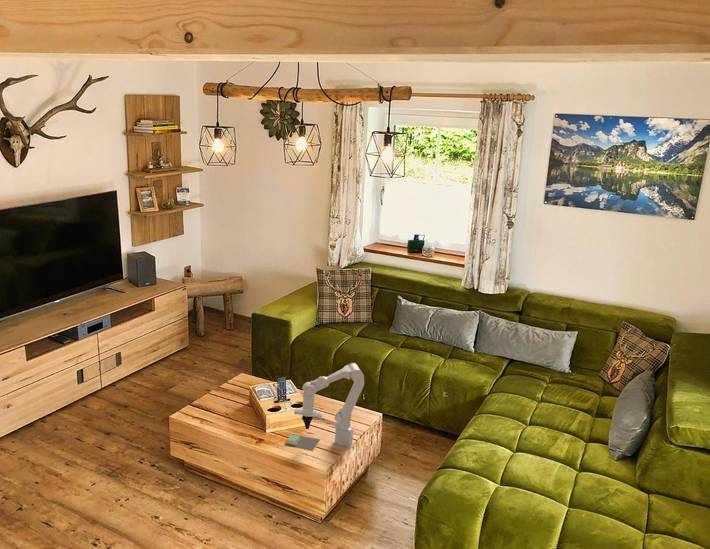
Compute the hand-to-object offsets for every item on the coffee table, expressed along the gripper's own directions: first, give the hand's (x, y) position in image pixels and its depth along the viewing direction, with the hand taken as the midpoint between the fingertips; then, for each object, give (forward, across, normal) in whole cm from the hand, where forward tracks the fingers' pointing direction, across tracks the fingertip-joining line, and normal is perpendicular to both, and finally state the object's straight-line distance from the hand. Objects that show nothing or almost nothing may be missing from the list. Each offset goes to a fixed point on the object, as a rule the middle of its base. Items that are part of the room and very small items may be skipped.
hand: (307, 428), depth 326 cm
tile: (+8, +5, 0) cm, 10 cm away
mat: (+10, +3, -1) cm, 10 cm away
